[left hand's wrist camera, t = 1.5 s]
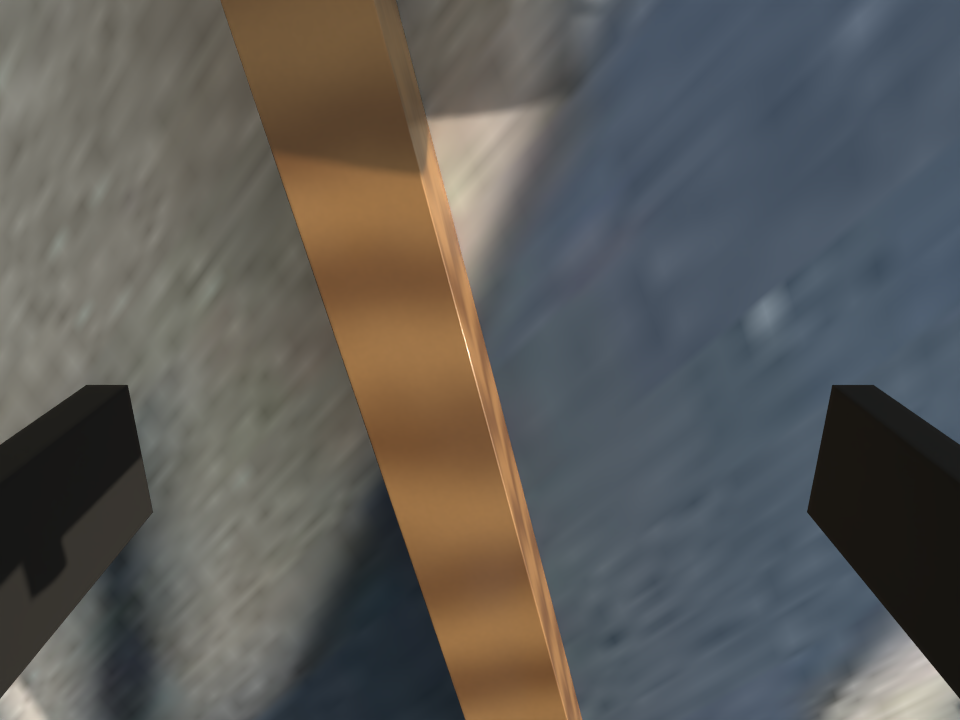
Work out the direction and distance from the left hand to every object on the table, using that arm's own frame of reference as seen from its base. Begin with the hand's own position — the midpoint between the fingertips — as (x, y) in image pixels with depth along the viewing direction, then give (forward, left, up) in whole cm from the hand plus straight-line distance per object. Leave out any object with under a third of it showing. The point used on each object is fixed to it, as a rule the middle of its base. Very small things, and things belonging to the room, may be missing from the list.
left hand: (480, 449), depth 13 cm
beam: (+11, +13, -20) cm, 26 cm away
